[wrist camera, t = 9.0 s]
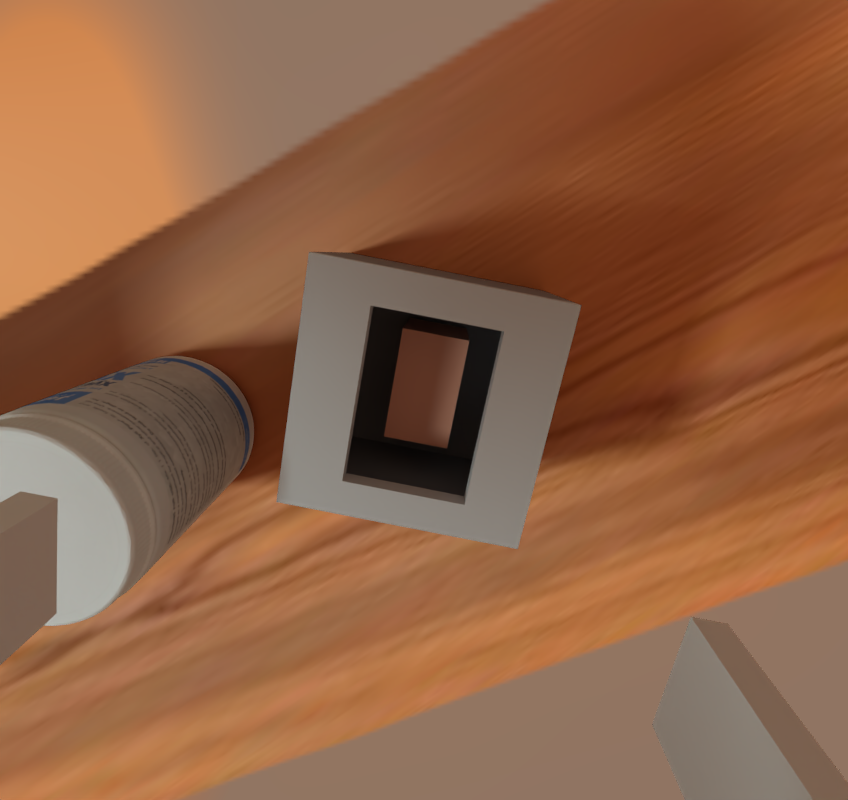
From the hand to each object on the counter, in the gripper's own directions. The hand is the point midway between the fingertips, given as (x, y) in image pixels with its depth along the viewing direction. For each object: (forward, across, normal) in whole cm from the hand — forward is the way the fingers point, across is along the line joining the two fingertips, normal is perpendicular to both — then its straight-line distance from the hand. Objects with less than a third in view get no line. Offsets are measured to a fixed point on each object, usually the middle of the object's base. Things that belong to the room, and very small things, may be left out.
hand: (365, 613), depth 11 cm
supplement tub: (+25, -15, -7) cm, 30 cm away
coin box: (+25, 0, 0) cm, 25 cm away
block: (+24, 0, 0) cm, 24 cm away
